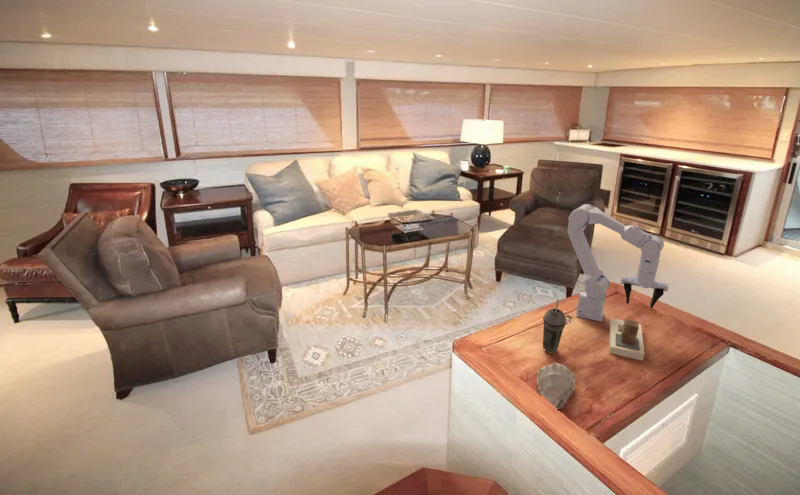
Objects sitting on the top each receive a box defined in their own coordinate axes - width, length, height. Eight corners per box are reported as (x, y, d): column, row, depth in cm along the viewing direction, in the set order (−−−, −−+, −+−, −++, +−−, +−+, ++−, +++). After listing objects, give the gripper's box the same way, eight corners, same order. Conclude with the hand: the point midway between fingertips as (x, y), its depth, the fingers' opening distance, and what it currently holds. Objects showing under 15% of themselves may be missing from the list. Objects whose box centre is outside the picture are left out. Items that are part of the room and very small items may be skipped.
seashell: (547, 413, 115) (552, 384, 112) (529, 379, 128) (533, 352, 125) (589, 411, 116) (596, 382, 113) (567, 378, 129) (572, 351, 125)
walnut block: (620, 342, 141) (625, 324, 139) (620, 336, 145) (624, 318, 142) (634, 345, 140) (638, 327, 137) (633, 339, 143) (638, 321, 141)
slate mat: (615, 345, 141) (616, 343, 141) (615, 334, 147) (615, 333, 147) (639, 350, 138) (639, 349, 138) (638, 339, 144) (638, 338, 144)
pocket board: (609, 352, 141) (610, 346, 140) (609, 323, 158) (611, 318, 157) (642, 360, 137) (644, 354, 136) (639, 330, 154) (641, 324, 153)
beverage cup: (561, 346, 144) (571, 295, 137) (559, 358, 138) (569, 305, 131) (540, 341, 147) (548, 290, 140) (537, 352, 141) (545, 300, 133)
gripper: (624, 271, 145) (617, 305, 150) (672, 278, 140) (663, 314, 145) (623, 263, 151) (616, 297, 156) (670, 270, 146) (661, 304, 150)
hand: (639, 304), depth 151 cm, fingers open, 7 cm apart
